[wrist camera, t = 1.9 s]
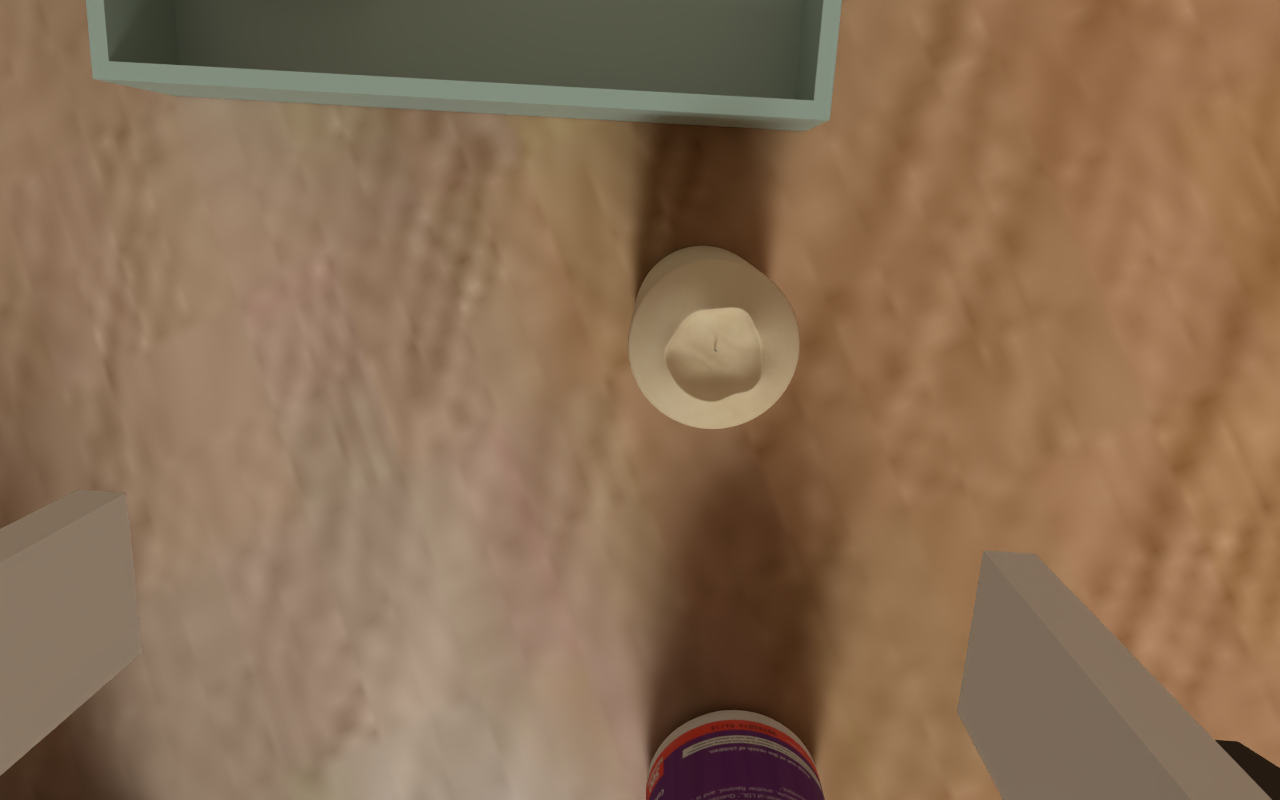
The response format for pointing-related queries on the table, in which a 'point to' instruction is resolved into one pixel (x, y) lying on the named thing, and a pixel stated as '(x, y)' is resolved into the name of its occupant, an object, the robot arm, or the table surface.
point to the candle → (711, 338)
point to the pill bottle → (733, 761)
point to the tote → (487, 56)
